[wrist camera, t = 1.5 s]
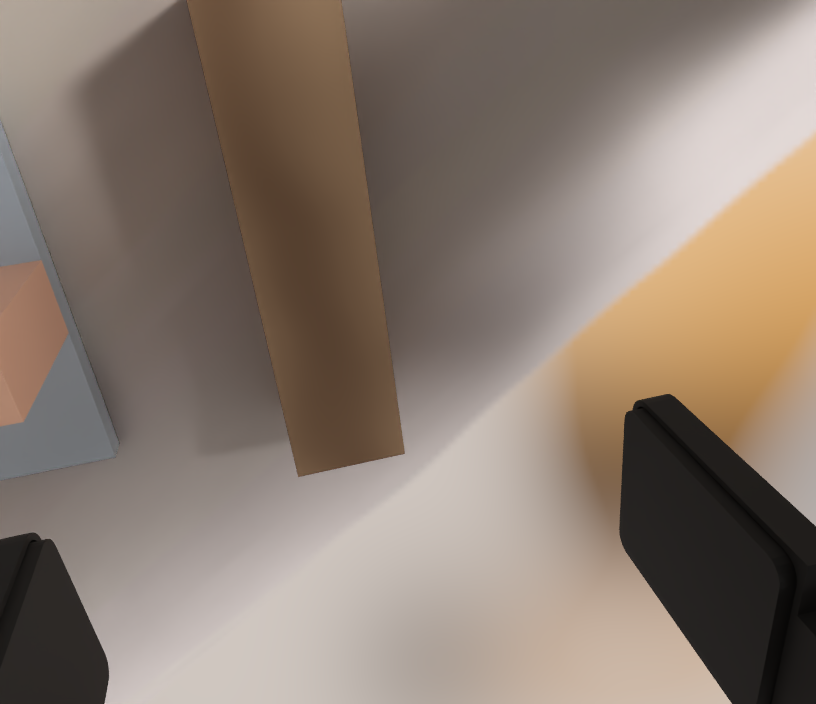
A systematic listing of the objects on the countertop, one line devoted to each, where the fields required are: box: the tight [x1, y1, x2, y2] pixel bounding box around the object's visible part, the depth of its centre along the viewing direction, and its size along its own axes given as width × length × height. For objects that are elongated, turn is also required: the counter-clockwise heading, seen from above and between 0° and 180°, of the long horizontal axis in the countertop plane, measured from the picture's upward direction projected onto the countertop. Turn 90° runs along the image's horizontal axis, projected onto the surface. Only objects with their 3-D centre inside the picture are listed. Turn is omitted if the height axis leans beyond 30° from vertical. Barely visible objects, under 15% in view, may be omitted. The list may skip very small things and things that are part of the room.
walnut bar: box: [187, 0, 405, 477], centre depth 24 cm, size 4×16×5 cm, turn 7°
